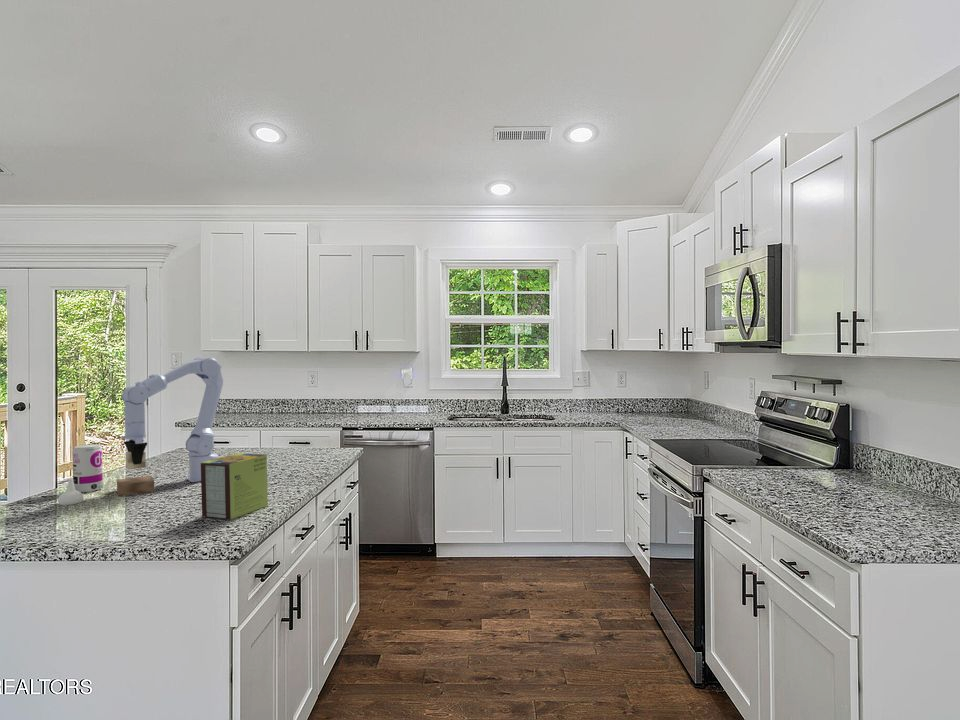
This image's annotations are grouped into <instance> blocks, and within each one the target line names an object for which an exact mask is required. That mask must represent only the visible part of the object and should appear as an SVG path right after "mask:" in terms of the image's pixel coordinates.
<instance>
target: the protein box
mask: <svg viewBox="0 0 960 720" xmlns="http://www.w3.org/2000/svg"><path fill="white" fill-rule="evenodd" d="M200 484H201V485H200V492H201V517H202V516H205V517H204V518H208V517H214V518H213V519H218V518H221V520H227V519H229V521H231V520H234V519H237V518H239V517H242V516H245V515H246V514H250V513H253V512H255V511H258V510H260V509H262V508H265V507H268V503H269V502H268V501H269V500H268V455H267V454H262V453H249V452H248V453H246V452H238V453H234V454H229V455H225V456H221V457H218V458H217V459H213V460H209V461H205V462H201V481H200Z"/></svg>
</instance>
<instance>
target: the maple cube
mask: <svg viewBox="0 0 960 720" xmlns="http://www.w3.org/2000/svg"><path fill="white" fill-rule="evenodd" d="M146 457H147V454H146V451H144V453H143V458H142V462H141V464H135V465H134V464H133V461H132V455H131V452H128V451H125V468H126V469H127V470H134V469H141V468H146V466H147V465H146V464H147V462H146V461H147V460H146Z"/></svg>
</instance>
